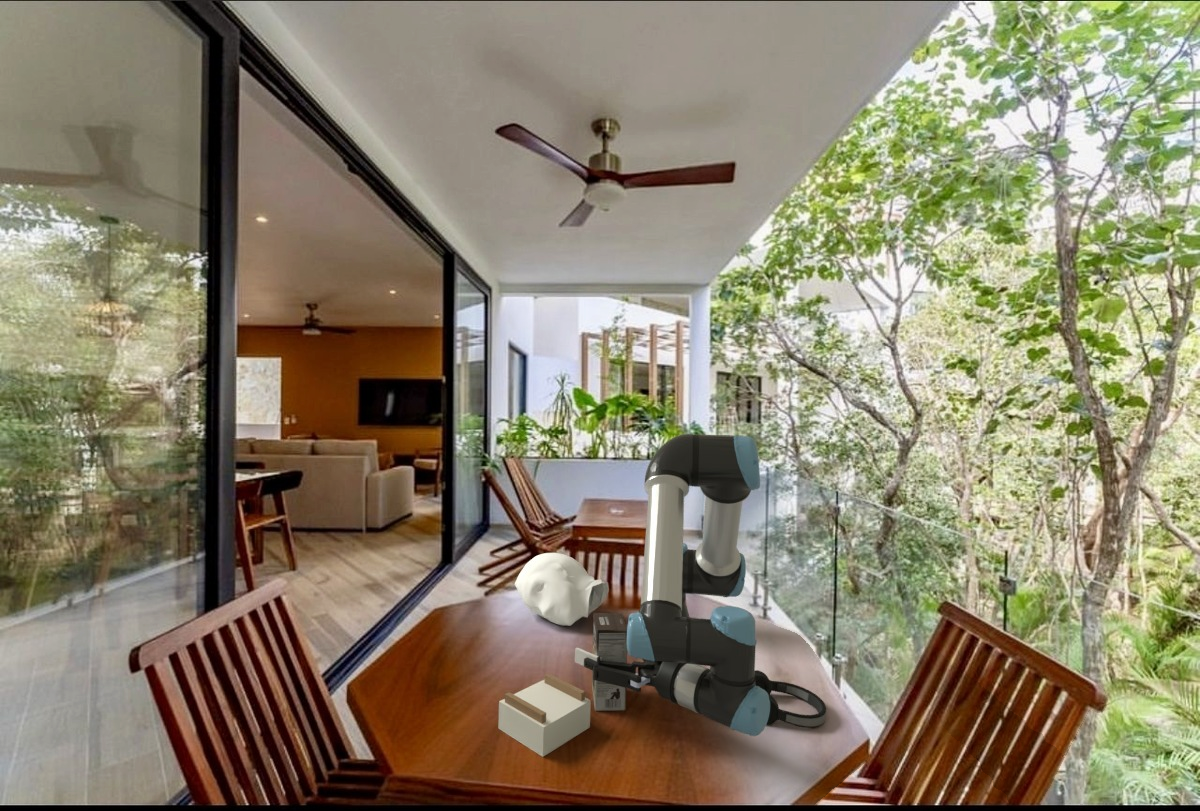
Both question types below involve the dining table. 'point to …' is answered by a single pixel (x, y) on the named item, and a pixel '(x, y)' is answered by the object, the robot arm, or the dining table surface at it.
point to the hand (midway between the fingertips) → (594, 646)
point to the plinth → (545, 714)
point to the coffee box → (609, 658)
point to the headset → (793, 690)
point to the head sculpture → (559, 588)
